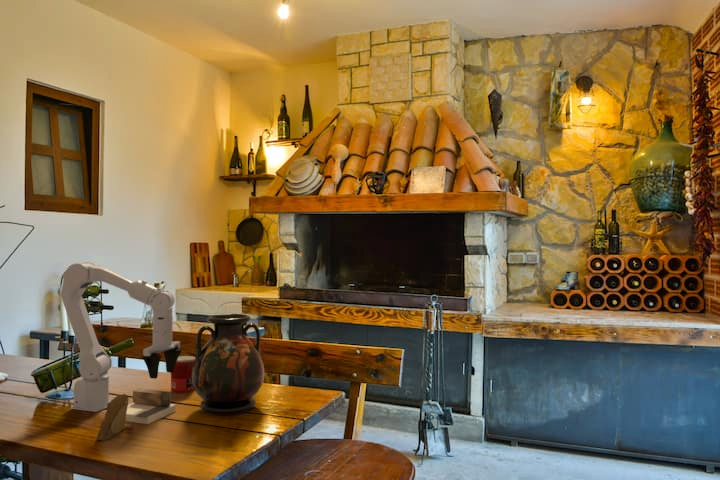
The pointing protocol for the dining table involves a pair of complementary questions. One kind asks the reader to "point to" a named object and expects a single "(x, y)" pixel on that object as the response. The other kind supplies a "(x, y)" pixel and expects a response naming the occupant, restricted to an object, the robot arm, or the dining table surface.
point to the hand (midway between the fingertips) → (161, 375)
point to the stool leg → (152, 397)
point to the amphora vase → (228, 366)
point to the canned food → (182, 375)
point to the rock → (114, 417)
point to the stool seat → (147, 412)
